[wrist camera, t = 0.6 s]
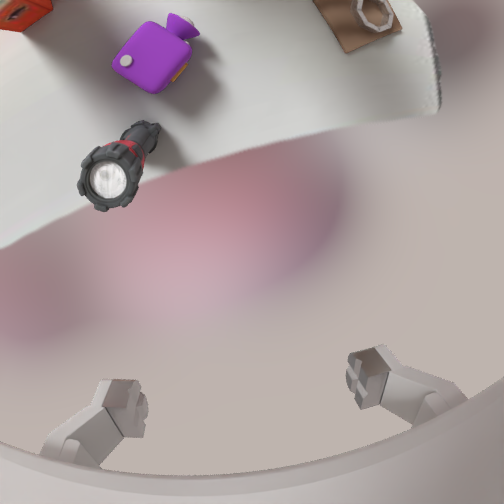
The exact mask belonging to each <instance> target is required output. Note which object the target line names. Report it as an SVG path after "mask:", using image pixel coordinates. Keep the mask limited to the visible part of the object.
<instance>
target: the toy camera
mask: <svg viewBox="0 0 504 504" xmlns="http://www.w3.org/2000/svg"><path fill="white" fill-rule="evenodd" d="M199 35H200V33H199V31H198V30H197V29H196V28H195V27H194V24H193V22H192V21H191V20H190V19H189V18H187V17H184V16H178V15H175V14H172V13H169V15H168V18H167V26H166V29H165V28H164V27H162V26H160V25H159V24H157V23H155V22H151V21H148V22H145V23H144V24H143V25H142V26H141V27H140V28H139V29H138V30H137V31H136V32H135V33H134V34H133V36H132V37H131V38H130V39H129V40H128V41H127V43H126V44H125V45H124V46H123V48H122V49H121V50H120V51H119V53H118V54H117V55H116V57H115V58H114V60H113V62H112V68H113V70H115V71H116V72H117V73H118V74H120V75H121V76H123V77H125V78H126V79H128V80H129V81H131V82H132V83H134V84H135V85H137V86H139V87H140V88H142V89H143V90H145V91H147V92H149V93H151V94H156V93H159V92H161V91H162V90H164V89H165V87H166V86H167V85H168V84H169V83H170V82H174V81H175V80H176V78H177V77H178V76H179V75H180V74H181V72H182V71H183V70H184V69H185V68H186V67H187V65H188V64H187V62H188V60H189V59H190V57H191V55H192V48H191V47H190V44H189V43H188V42H187V41H183V40H185V39H189V38H193V37H196V36H199Z"/></svg>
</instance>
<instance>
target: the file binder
mask: <svg viewBox="0 0 504 504" xmlns="http://www.w3.org/2000/svg"><path fill="white" fill-rule="evenodd" d="M52 10H53V6H52V3H51V0H0V29H2V30H9V31H15V32H22V31H24V30H25V29H26V28H28V27H29V26H30V25H32V24H33V23H35V22H36V21H37V20H39V19H40V18H42V17H43V16H45V15H46V14H47V13H49V12H50V11H52Z"/></svg>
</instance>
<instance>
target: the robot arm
mask: <svg viewBox="0 0 504 504" xmlns="http://www.w3.org/2000/svg"><path fill="white" fill-rule="evenodd" d="M348 363H349V364H350V366H349V367H348V368H347V370H346V382H347V385H348V388H349V389H350V391H351V392H353V393H355V401H356V402H357V404H358V406H359V408H360V409H361V410H362V409H366V408H369V407H372V406H376V405H379V404H380V406H382V407H384V408H385V409H387V410H389V411H391V412H392V413H394V414H395V415H397V416H399V417H401V418H402V419H404V420H405V421H407V422H409V423H411V424H412V427H411V429H410V430H407V431H404V432H402V433H400V434H397V435H395V436H392V437H389V438H387V439H384V440H382V441H379V442H376V443H373V444H370V445H367V446H365V447H361V448H358V449H355V450H352V451H349V452H345V453H342V454H338V455H335V456H331V457H327V458H323V459H319V460H315V461H311V462H306V463H301V464H297V465H292V466H286V467H281V468H275V469H268V470H261V471H253V472H245V473H233V474H220V475H198V476H197V475H194V476H177V475H174V476H173V475H151V474H138V473H127V472H119V471H111V470H105V469H102V468H101V467H100V466H99V465H100V464H101V463H102V462H103V461H104V459H105V458H106V457H107V456H108V455H109V454H110V453H111V452H112V451H113V450H114V448H115V447H116V446H117V445H118V444H119V443H120V442H121V441H122V440H123V437H133V438H143V436H144V431H145V423H144V421H143V420H144V419H145V418H147V416H148V403H147V399H146V396H145V395H144V394H143V393H142V392H140V390H141V385H140V383H139V381H138V380H126V379H123V380H122V379H102V380H101V381H100V383H99V385H98V388H97V390H96V393H95V395H94V397H93V400H92V402H91V405H90V406H86V407H85V408H83V409H82V410H81V411H79V412H78V413H76V414H75V415H74V416H73V417H71V418H70V419H68V420H67V421H65V422H64V423H63V424H61V425H60V426H59V427H57V428H56V429H54V430H53V431H52V432H50V433H49V434H48V436H47V438H46V440H45V443H44V445H43V447H42V450H41V452H40V455H38V454H35V453H31V452H28V451H25V450H22V449H19V448H17V447H14V446H11V445H8V444H6V443H3V442H1V441H0V504H504V377H503V378H501V379H500V380H498V381H497V382H495V383H494V384H492V385H491V386H489V387H488V388H486V389H485V390H483V391H482V392H480V393H478V394H477V395H475V396H474V397H472V398H470V399H468V398H467V397H466V396H465V395H464V394H463V393H462V392H461V390H460V389H459V388H458V387H457V386H456V385H455V384H454V383H453V382H451V381H448V380H445V379H442V378H439V377H436V376H434V375H431V374H428V373H425V372H422V371H419V370H417V369H414V368H411V367H409V366H405V367H404V366H403V365H402V364H401V363H400V362H399V360H398V359H397V358H396V357H395V356H394V354H393V353H392V352H391V351H390V350H389V349H388V347H387V346H386V345H384V344H382V345H378V346H375V347H372V348H368V349H365V350H361V351H357V352H353V353H350V354H349V356H348Z"/></svg>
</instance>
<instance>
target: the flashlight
mask: <svg viewBox="0 0 504 504" xmlns="http://www.w3.org/2000/svg"><path fill="white" fill-rule="evenodd" d="M160 129H161V127H160V126H159V124H158V123H153V124H150V123H148V122H144V120H142V121H138V122H137V123H135V124H134V125H132V126H131V128H130V129H128V130H126V131H125V132H124V133H123V134H122V136H121V138H120V140H119V141H115V142H112V143H109V144H106V145H105V146H103V147H100V146H98V147H96V148H95V149H94V150H93V151H92V152H91V153H90V154H89V155H88V156H87V157H86V158H85V159H84V160H83V161H82V163H81V167H82V168H83V169H82V171H81V176H80V179H79V181H78V183H77V188H78V190H79V194H80V195H81V196H83V195H85V196H86V197H87V199H88V200H89V201H90V202H92V203H93V204H94V205H95V206H94V208H95V209H96V210H100V211H102V212H107V211H108V210H109V208H114V207H118V206H120V205H121V206H122V207H126V206H127V205H128V204H129V203H131V202H132V200H133V198H134V196H135V195H136V192H137V190H138V188H139V187H138V183H139V180H140V178H141V176H142V174H143V168H144V161H145V158H146V156H147V155H148V153H151V152H152V151H153V150H154V149H155V147H156V145H157V134H158V133H159V131H160Z"/></svg>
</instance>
